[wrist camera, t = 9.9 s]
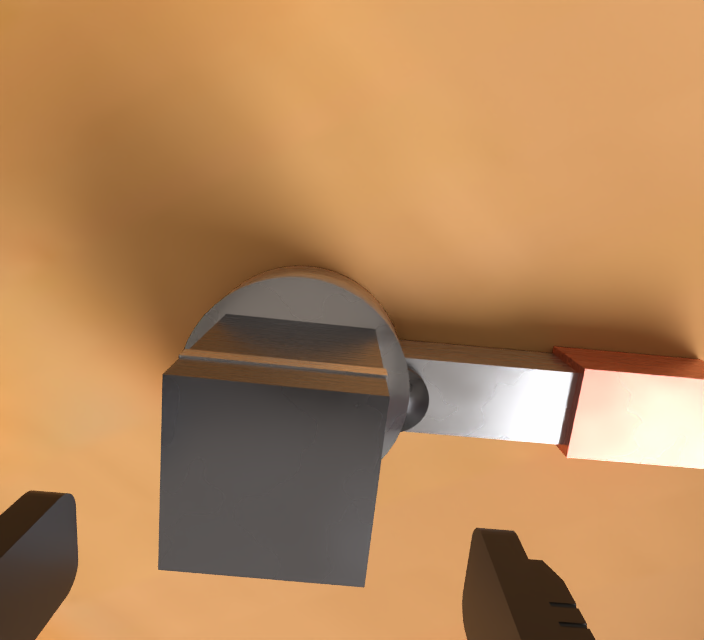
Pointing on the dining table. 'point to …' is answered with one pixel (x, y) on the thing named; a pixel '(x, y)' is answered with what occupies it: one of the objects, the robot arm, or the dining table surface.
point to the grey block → (272, 451)
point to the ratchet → (500, 380)
